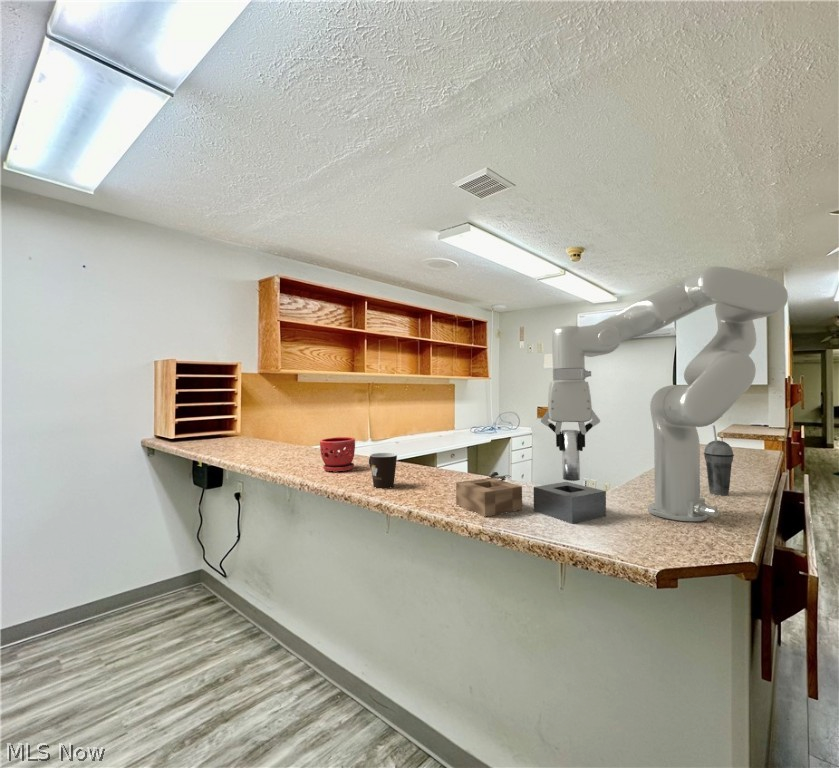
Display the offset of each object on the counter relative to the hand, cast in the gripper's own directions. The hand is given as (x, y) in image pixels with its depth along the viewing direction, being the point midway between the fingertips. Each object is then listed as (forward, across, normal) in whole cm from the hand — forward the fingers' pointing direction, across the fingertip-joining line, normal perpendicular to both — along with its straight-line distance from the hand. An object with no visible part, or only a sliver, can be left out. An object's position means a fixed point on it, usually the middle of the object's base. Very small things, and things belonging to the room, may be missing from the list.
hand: (570, 449), depth 105 cm
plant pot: (+15, +81, -37) cm, 90 cm away
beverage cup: (+17, -43, -31) cm, 56 cm away
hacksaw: (+16, +20, -31) cm, 41 cm away
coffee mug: (+15, +56, -17) cm, 60 cm away
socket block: (+16, +1, 0) cm, 16 cm away
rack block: (+15, +20, 0) cm, 26 cm away
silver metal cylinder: (+7, 0, 0) cm, 7 cm away
